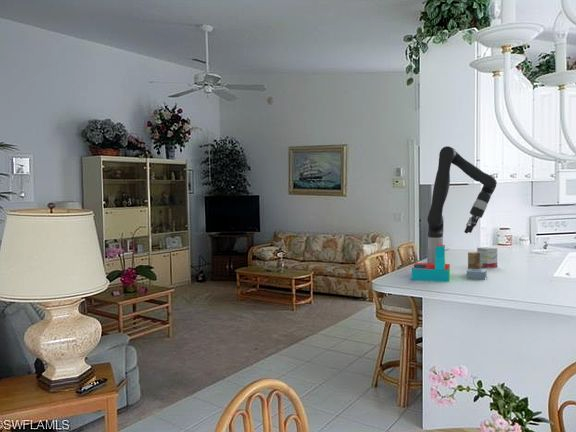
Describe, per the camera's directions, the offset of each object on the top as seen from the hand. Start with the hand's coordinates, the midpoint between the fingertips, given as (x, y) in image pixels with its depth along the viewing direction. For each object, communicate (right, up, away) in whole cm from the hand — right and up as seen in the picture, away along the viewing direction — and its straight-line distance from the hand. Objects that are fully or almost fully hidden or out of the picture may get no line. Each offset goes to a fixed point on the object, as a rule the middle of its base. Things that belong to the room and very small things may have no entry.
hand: (467, 232), depth 286 cm
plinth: (-6, -23, -30) cm, 38 cm away
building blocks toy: (-29, -24, -24) cm, 45 cm away
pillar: (-3, -23, -18) cm, 29 cm away
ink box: (+14, -21, +5) cm, 26 cm away
